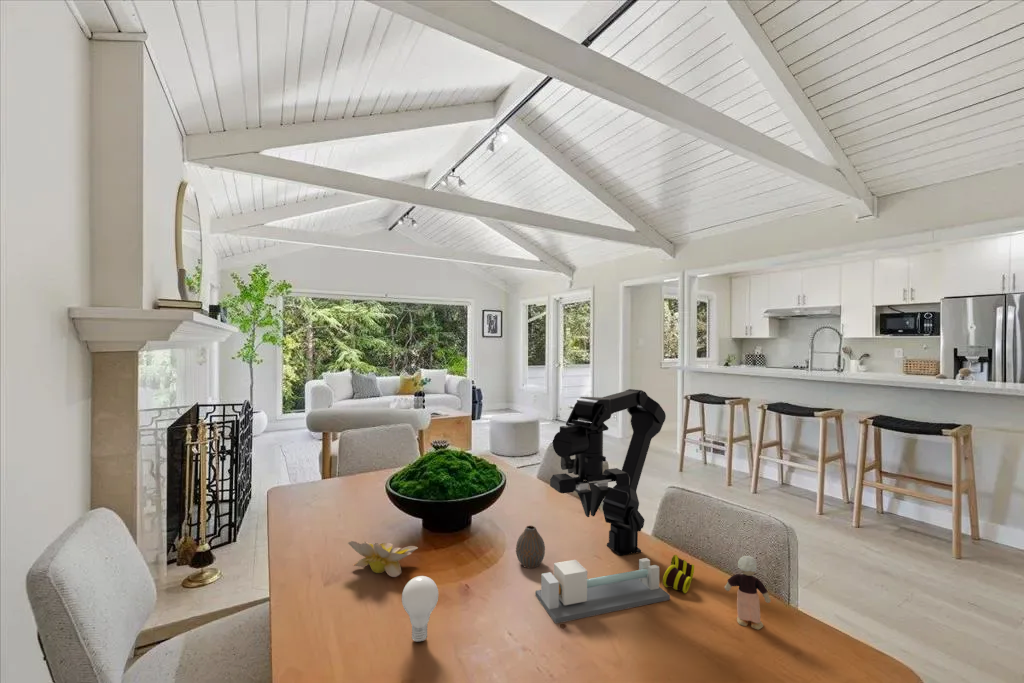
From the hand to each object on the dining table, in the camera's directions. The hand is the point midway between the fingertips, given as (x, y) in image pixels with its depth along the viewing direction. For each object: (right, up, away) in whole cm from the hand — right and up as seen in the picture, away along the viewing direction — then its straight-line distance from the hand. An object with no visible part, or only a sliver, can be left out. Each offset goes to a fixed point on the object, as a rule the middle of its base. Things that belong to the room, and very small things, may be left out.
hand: (590, 516), depth 108 cm
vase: (-14, -12, +1) cm, 19 cm away
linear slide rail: (0, -12, -13) cm, 18 cm away
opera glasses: (+19, -13, -7) cm, 24 cm away
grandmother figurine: (+26, -12, -21) cm, 36 cm away
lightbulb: (-35, -11, -28) cm, 46 cm away
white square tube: (-7, -10, -16) cm, 20 cm away
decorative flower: (-48, -12, -3) cm, 49 cm away
